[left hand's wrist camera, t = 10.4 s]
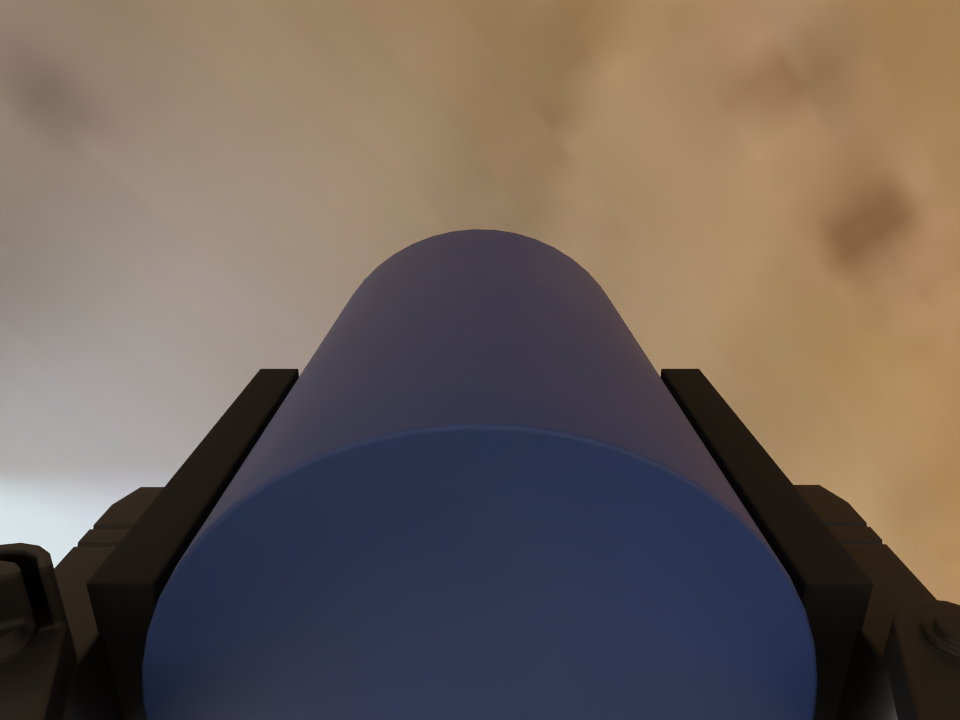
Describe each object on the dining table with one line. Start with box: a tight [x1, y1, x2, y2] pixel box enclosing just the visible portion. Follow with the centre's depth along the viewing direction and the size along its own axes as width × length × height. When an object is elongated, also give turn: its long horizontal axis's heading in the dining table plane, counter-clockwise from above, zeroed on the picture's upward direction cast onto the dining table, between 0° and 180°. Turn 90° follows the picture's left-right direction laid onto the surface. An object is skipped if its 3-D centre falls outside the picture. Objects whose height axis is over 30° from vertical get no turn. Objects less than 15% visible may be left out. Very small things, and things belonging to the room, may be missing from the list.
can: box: [142, 229, 818, 720], centre depth 12 cm, size 7×7×10 cm
